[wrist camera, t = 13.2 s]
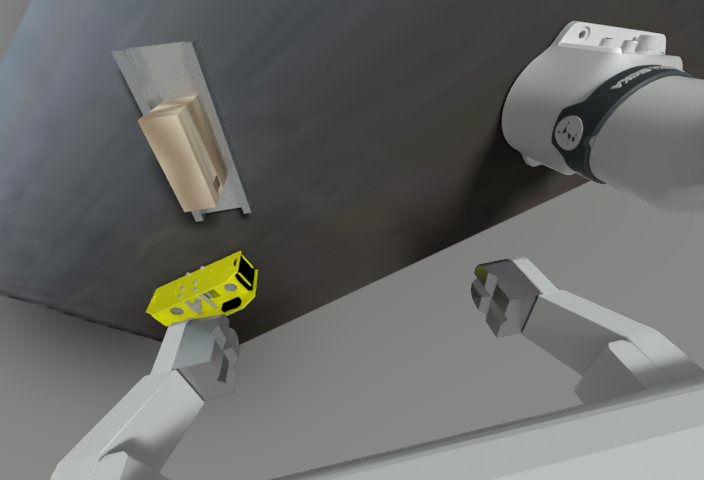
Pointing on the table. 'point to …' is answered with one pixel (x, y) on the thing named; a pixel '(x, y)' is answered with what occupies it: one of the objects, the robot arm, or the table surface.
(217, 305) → the yellow toy chassis
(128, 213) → the table surface
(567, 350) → the robot arm
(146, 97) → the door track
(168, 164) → the tan rectangular block
